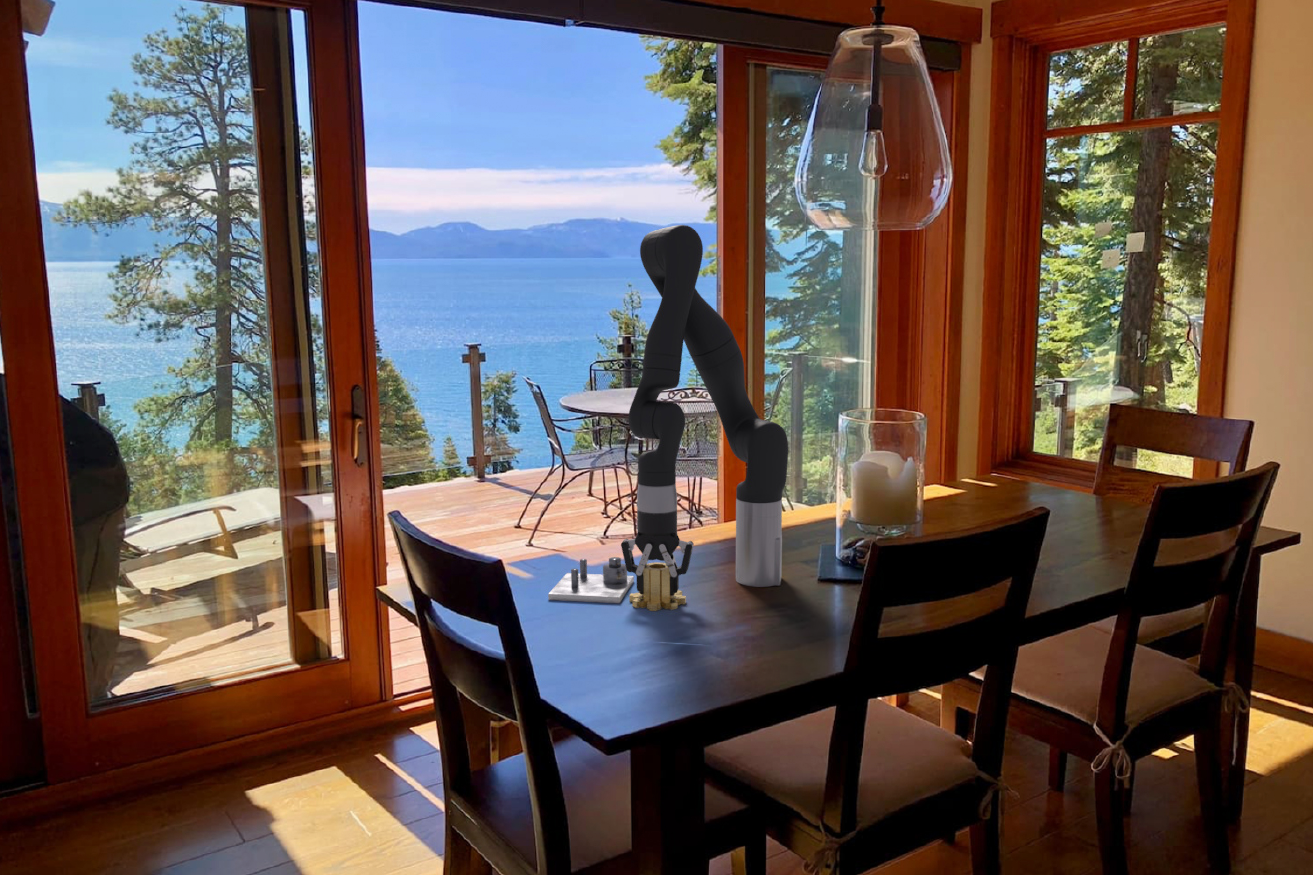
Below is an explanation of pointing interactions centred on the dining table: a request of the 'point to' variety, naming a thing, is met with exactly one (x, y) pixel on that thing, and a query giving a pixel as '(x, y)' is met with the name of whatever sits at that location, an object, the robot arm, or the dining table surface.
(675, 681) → the dining table surface
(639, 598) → the planet gear
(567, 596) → the plate
